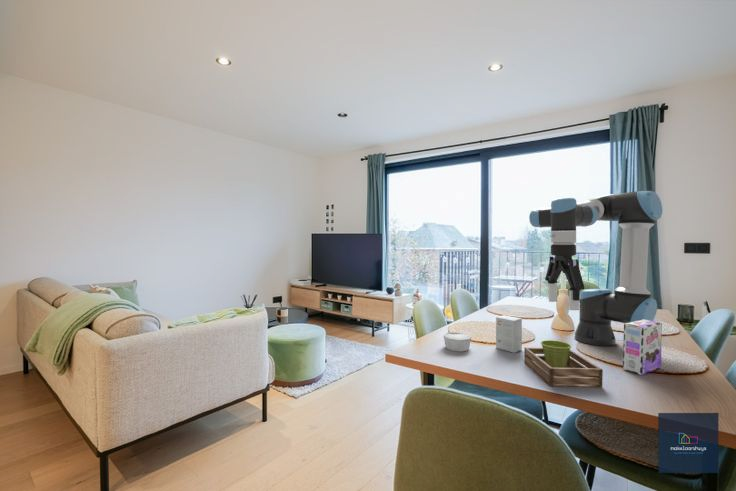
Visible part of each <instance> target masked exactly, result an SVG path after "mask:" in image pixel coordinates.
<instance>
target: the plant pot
mask: <svg viewBox="0 0 736 491" xmlns="http://www.w3.org/2000/svg"><path fill="white" fill-rule="evenodd" d="M540 344H541V348H543V350H544V354H543V355H544V356H545V363H547V364H548V365H549V366H551V367H552V368H566V367H567V360H568V353H569V351H570V350H571V348H572V344H570V343H568V342H564V341H559V340H551V339H550V340H548V339H545V340H541V341H540Z"/></svg>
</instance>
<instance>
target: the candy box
mask: <svg viewBox="0 0 736 491" xmlns="http://www.w3.org/2000/svg"><path fill="white" fill-rule="evenodd" d="M662 326H663V323H662V322H659V321H656V320H655V321H654V320H653V321H650V320H644V319H642V320H639V321H635V322H630V323H623V341H622V342H623V346H622V350H623V351H622V353H623V354H622V370H624V371H626V372H631V373H634V374H636V375H640V376H643V375H646V374H649V373H652V372H654V371H656V370H655V369H657V368H660V367H661V368H662V334H663V333H662V329H663V327H662ZM661 368H660V369H661ZM653 370H654V371H653ZM657 370H658V369H657Z"/></svg>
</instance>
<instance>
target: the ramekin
mask: <svg viewBox="0 0 736 491" xmlns="http://www.w3.org/2000/svg"><path fill="white" fill-rule="evenodd" d="M443 338H444V346H445V348H446V349H447V350H448V351H452V352H457V353H459V352H460V353H461V352H467V351H469V349H470V347H471V346H470V345H471V341H472V336H471V335H470V334H467V333H463V332H450V331H449V332H446V333H444V334H443Z"/></svg>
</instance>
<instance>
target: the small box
mask: <svg viewBox="0 0 736 491" xmlns="http://www.w3.org/2000/svg"><path fill="white" fill-rule="evenodd" d="M522 321H523V319H522V318H521V317H517V316H510V315H505V314H503V315H499V316H496V317H495V322H496V323H495V348H496V349H499V350H503V351H506V352H510V353H517V352H519V351H522V348H523V347H522V346H523V339H522V338H523V323H522Z"/></svg>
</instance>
